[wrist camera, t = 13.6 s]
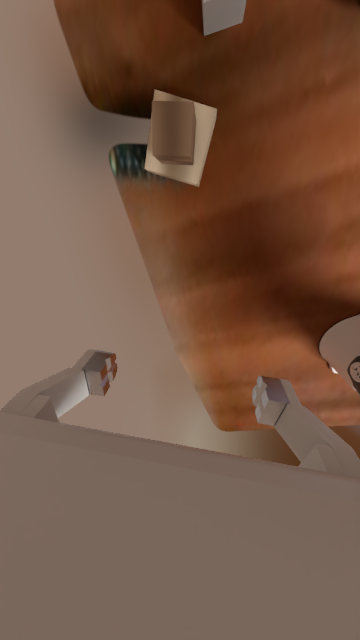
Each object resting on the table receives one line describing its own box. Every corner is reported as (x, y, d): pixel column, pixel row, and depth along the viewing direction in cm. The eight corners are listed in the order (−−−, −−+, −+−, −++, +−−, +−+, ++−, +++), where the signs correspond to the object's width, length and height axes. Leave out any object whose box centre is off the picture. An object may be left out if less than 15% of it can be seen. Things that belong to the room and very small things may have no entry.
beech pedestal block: (216, 120, 30) (217, 108, 27) (198, 187, 35) (197, 185, 32) (160, 102, 30) (154, 89, 27) (150, 172, 35) (144, 168, 31)
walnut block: (196, 121, 28) (193, 101, 23) (193, 165, 30) (190, 156, 25) (162, 120, 28) (151, 100, 23) (161, 163, 31) (152, 154, 26)
